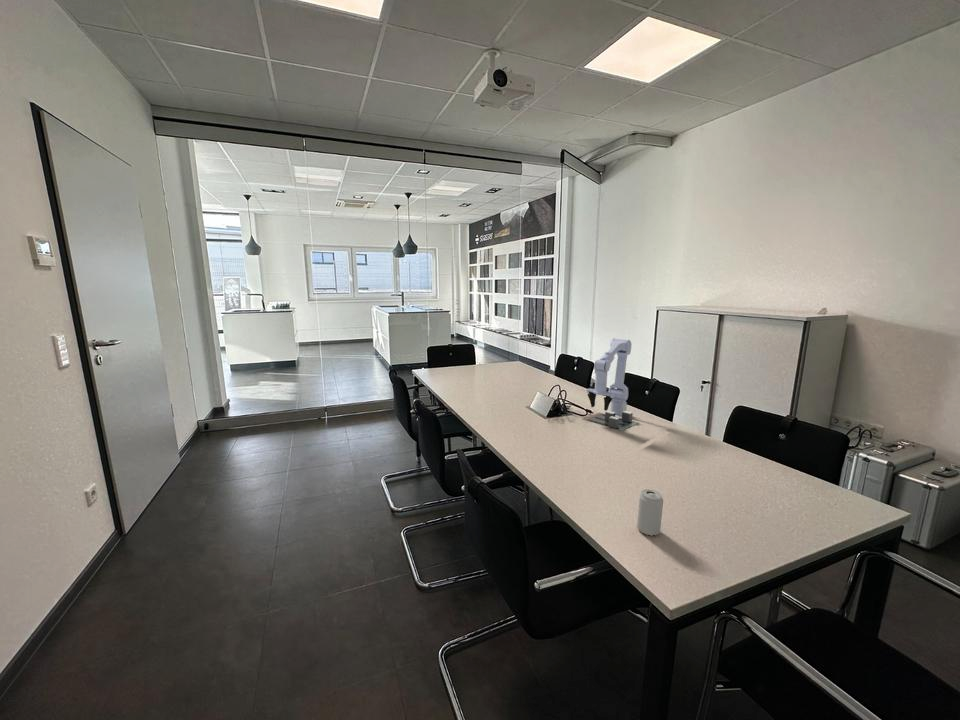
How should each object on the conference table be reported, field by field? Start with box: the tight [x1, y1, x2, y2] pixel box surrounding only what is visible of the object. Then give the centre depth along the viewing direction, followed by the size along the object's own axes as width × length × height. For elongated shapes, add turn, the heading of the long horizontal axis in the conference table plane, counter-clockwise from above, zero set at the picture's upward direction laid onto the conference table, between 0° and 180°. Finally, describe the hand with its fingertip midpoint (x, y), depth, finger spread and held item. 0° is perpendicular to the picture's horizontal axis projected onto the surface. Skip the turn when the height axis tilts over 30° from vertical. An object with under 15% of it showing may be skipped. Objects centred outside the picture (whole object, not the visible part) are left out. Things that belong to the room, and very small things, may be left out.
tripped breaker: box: [604, 410, 617, 421], centre depth 211 cm, size 4×4×5 cm
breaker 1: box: [608, 416, 621, 429], centre depth 202 cm, size 4×4×5 cm
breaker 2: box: [621, 410, 634, 422], centre depth 211 cm, size 4×4×5 cm
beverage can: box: [636, 488, 664, 537], centre depth 117 cm, size 6×6×12 cm
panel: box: [581, 412, 640, 432], centre depth 212 cm, size 18×24×2 cm
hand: (599, 408), depth 205 cm, fingers open, 7 cm apart
